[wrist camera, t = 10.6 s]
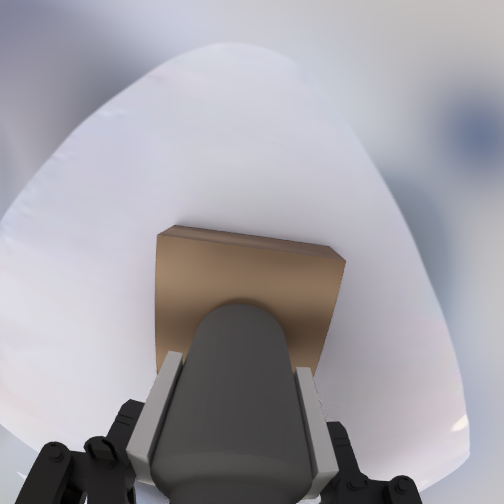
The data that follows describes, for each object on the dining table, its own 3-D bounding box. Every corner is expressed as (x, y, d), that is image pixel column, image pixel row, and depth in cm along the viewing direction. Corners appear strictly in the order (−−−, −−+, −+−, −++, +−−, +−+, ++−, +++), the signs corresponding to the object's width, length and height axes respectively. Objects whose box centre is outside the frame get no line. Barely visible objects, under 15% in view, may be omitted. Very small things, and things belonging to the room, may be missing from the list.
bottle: (297, 314, 16) (374, 573, 2) (270, 383, 18) (286, 591, 3) (204, 291, 16) (105, 565, 1) (188, 365, 17) (130, 573, 3)
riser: (298, 371, 24) (304, 400, 20) (169, 355, 23) (157, 382, 19) (329, 246, 21) (346, 260, 17) (174, 225, 20) (157, 234, 16)
